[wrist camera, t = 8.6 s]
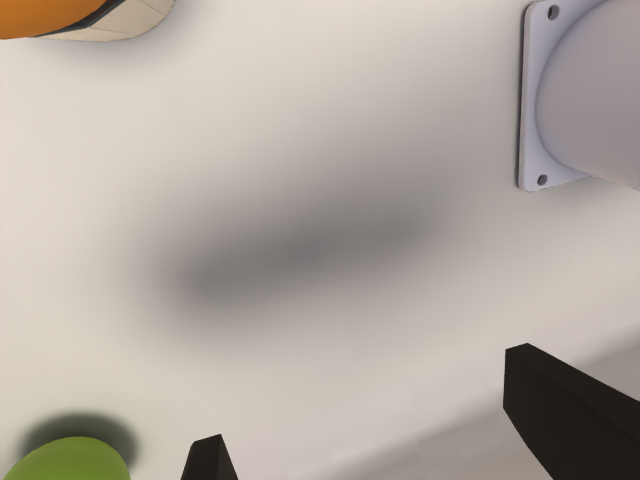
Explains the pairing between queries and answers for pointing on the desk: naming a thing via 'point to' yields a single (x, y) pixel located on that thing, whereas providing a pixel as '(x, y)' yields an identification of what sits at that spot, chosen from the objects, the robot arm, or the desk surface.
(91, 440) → the snail figurine
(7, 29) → the ball
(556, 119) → the robot arm
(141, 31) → the cup
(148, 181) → the desk surface
